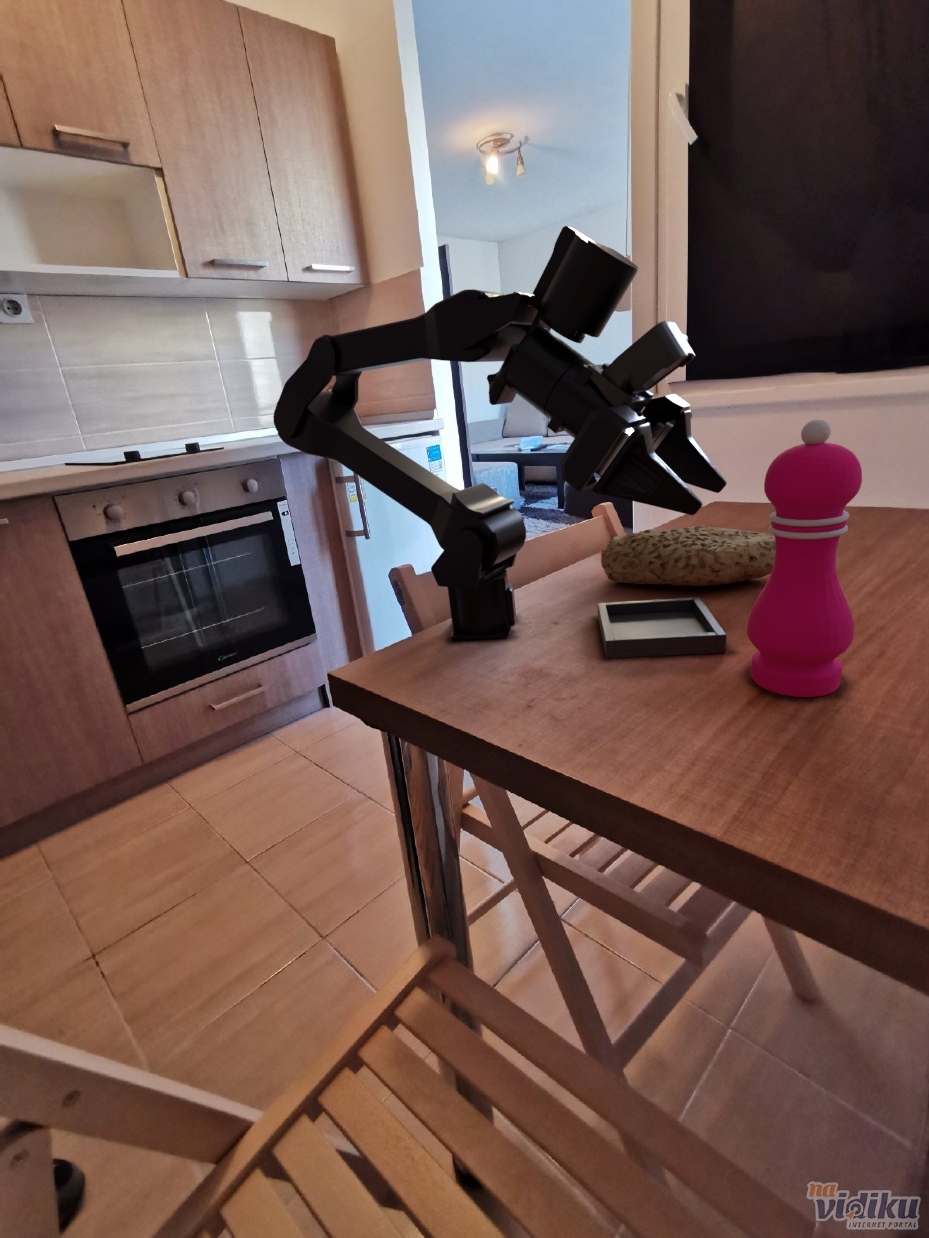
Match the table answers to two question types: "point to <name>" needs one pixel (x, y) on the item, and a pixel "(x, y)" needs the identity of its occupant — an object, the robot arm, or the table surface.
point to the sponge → (689, 556)
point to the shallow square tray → (659, 628)
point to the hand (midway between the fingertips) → (711, 498)
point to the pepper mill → (805, 569)
